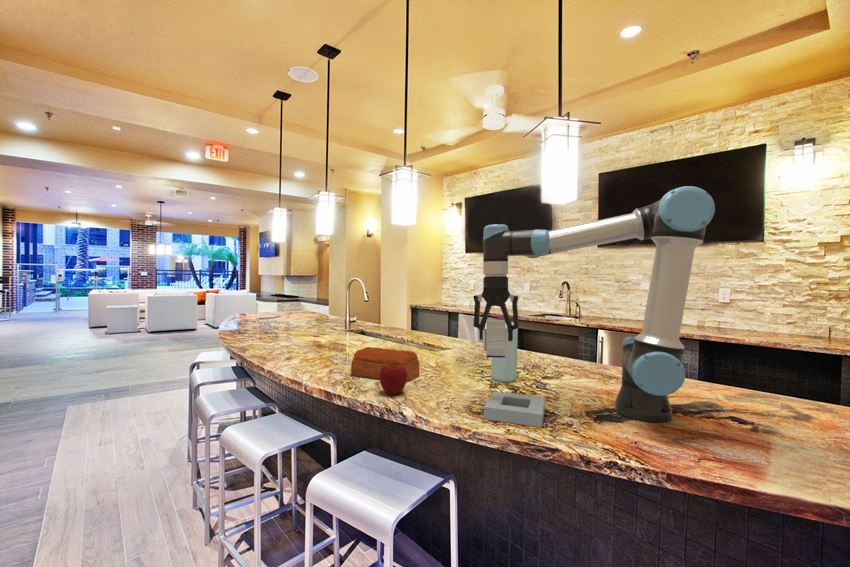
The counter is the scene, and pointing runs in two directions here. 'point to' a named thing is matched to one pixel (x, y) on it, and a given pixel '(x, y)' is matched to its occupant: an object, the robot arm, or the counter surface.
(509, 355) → the water bottle
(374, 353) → the bread
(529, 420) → the socket block
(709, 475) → the counter surface
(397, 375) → the apple
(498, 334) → the supplement box
